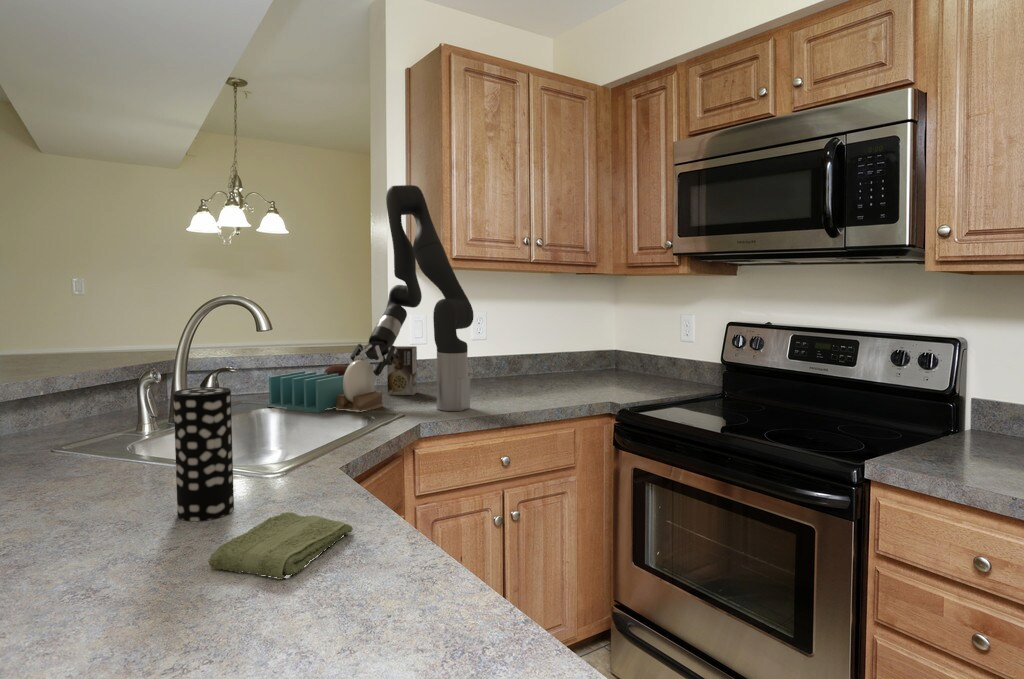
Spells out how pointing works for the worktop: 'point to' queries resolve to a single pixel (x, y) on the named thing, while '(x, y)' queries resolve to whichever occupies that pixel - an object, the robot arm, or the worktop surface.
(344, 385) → the plate
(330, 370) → the muffin
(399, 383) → the coffee box
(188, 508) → the spotted tube
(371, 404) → the plate stand
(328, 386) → the rack
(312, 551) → the washcloth
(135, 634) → the worktop surface
